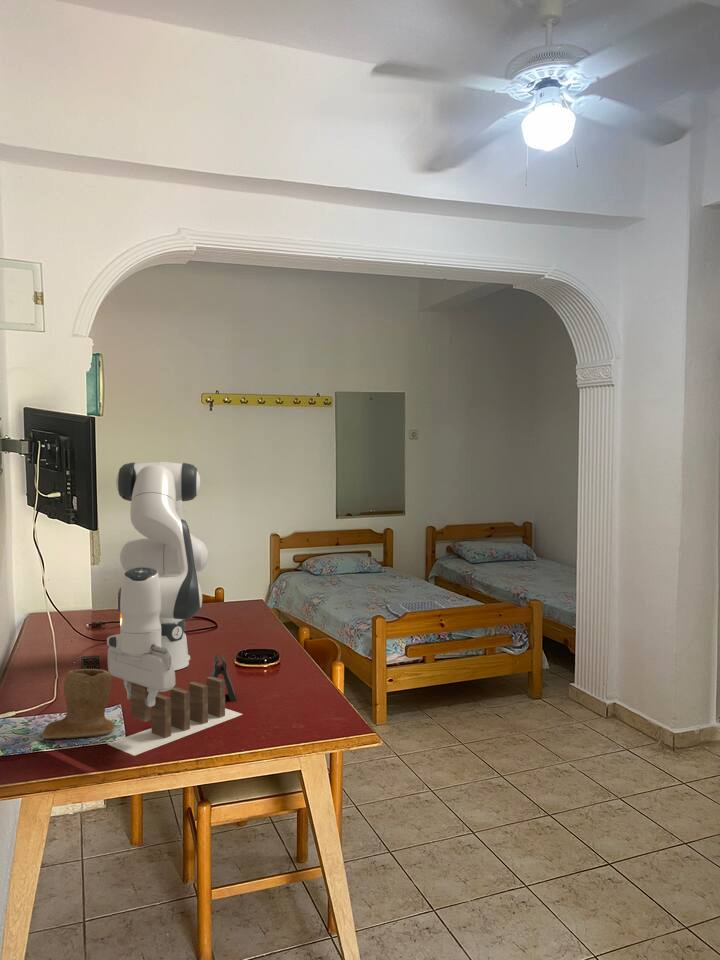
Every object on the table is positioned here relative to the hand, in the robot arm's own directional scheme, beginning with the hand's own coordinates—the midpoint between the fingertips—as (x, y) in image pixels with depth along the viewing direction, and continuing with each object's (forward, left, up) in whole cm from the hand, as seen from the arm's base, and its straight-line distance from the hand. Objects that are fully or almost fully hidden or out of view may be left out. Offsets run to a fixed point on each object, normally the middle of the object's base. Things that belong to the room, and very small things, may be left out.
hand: (141, 702), depth 171 cm
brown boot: (-17, -4, -10) cm, 21 cm away
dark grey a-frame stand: (-8, +31, -10) cm, 33 cm away
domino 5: (0, +22, -9) cm, 24 cm away
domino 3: (0, +11, -9) cm, 14 cm away
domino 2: (0, +6, -9) cm, 11 cm away
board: (0, +11, -10) cm, 15 cm away
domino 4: (0, +17, -9) cm, 19 cm away
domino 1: (0, 0, -4) cm, 4 cm away
